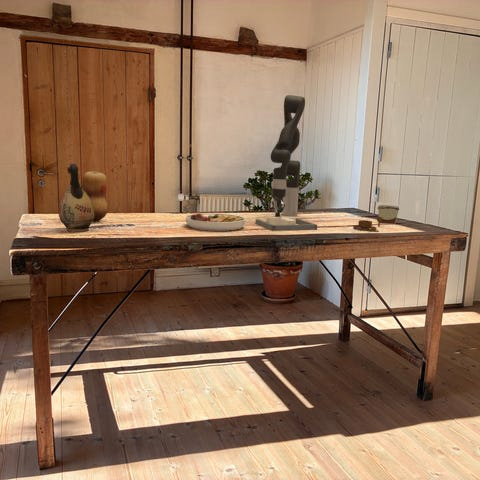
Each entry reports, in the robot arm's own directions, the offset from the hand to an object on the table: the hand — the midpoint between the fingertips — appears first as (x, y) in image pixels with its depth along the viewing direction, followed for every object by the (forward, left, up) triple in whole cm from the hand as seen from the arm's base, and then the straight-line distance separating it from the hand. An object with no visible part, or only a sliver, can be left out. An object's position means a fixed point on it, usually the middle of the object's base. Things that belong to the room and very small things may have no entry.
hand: (277, 219), depth 259 cm
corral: (+10, 0, -2) cm, 10 cm away
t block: (+9, 0, -2) cm, 9 cm away
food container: (+5, +67, -2) cm, 67 cm away
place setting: (+24, +44, -3) cm, 50 cm away
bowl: (+6, -37, -3) cm, 38 cm away
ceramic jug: (+8, -103, -2) cm, 103 cm away
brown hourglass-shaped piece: (-18, -94, -2) cm, 96 cm away
